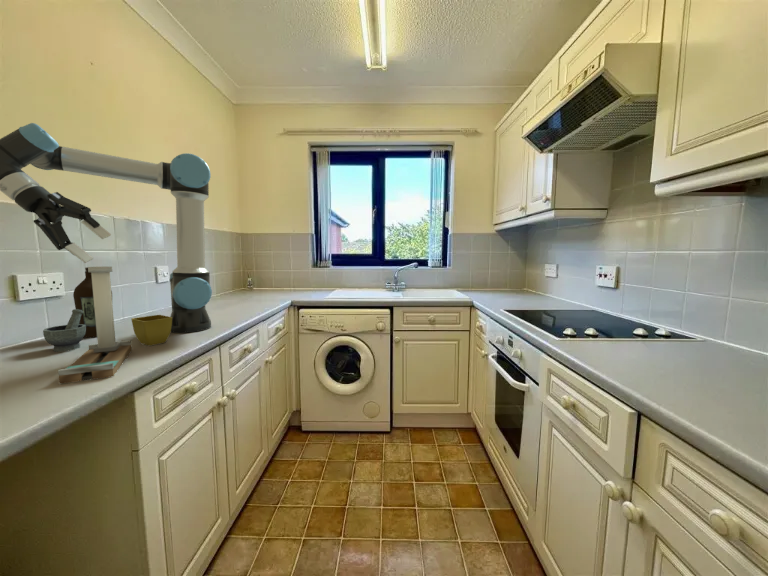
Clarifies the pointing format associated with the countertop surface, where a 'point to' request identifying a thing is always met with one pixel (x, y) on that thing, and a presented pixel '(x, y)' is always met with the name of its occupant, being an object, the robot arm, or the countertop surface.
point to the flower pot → (152, 329)
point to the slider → (103, 309)
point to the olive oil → (86, 304)
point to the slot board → (95, 364)
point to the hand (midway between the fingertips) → (98, 249)
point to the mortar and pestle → (66, 333)
